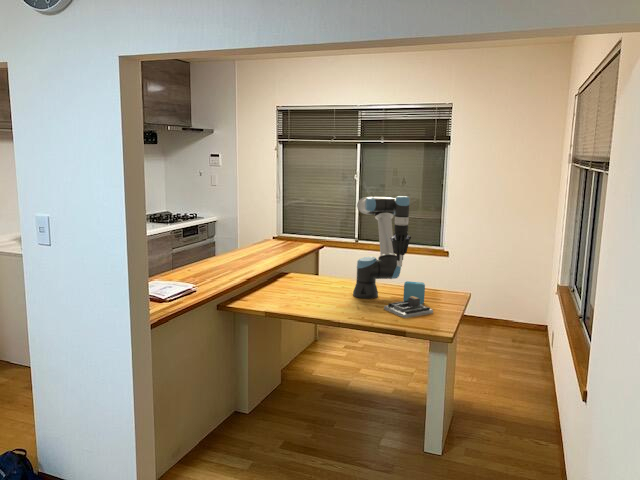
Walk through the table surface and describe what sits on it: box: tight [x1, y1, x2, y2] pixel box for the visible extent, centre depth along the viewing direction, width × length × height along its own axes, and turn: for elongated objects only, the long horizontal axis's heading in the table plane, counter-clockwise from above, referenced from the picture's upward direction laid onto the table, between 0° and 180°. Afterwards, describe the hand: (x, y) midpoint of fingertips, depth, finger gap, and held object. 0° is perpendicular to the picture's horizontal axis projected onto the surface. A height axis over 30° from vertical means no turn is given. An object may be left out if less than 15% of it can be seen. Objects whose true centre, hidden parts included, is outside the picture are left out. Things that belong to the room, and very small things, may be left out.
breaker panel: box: [383, 300, 434, 319], centre depth 296 cm, size 18×20×4 cm
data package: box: [402, 281, 426, 305], centre depth 313 cm, size 12×4×12 cm, turn 79°
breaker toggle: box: [408, 296, 420, 307], centre depth 298 cm, size 5×4×5 cm
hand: (399, 266), depth 297 cm, fingers closed
